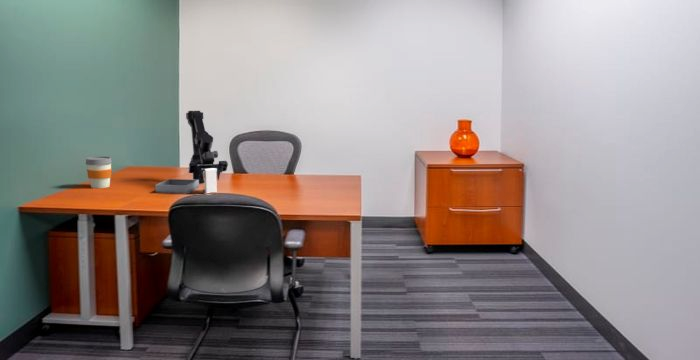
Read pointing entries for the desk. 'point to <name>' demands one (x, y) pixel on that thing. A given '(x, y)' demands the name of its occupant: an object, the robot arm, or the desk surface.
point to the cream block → (210, 180)
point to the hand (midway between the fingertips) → (210, 180)
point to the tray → (177, 186)
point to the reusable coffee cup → (99, 171)
